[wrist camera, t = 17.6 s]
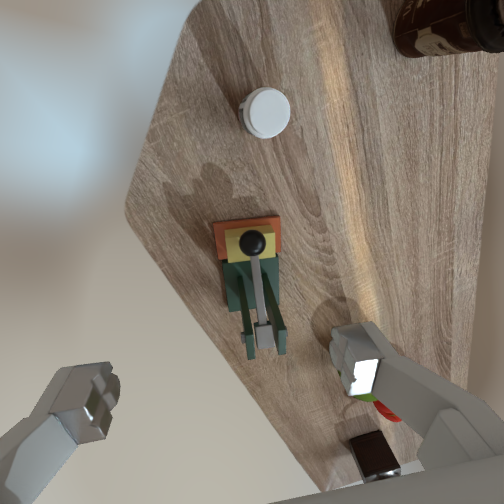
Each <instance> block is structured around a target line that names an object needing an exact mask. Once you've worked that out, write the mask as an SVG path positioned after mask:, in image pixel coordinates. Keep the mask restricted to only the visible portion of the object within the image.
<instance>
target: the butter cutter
mask: <svg viewBox="0 0 504 504" xmlns="http://www.w3.org/2000/svg"><path fill="white" fill-rule="evenodd" d="M275 254H276V257H272V258H264V259H259V262H260V270H261V278H262V286H263V294H264V302H265V307H266V311H267V315H268V318H269V321H270V322H271V324H272V326H273V334H274V340H275V344H276V347H277V351H278V355H283V354H286V337H287V336H288V332H287V328H286V326H285V325H284V322H283V319H282V316H281V313H280V310H279V307H278V305H279V258H278V255H277V253H275ZM222 266H223V273H224V280H225V287H226V294H227V301H228V308H229V312H234V311H241V316H242V323H243V329H244V332H241V341H242V343H246V350H247V357H248V360H251V359H255V346H254V335H253V329H252V324H251V319H250V313H249V309H255V308H256V302H255V294H254V287H253V279H252V271H251V263H250V260H248V261H240V262H232V263H228V259H226V260H222Z"/></svg>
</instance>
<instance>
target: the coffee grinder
mask: <svg viewBox="0 0 504 504" xmlns="http://www.w3.org/2000/svg"><path fill="white" fill-rule="evenodd" d="M349 444H350V449H351V452H352V456H353V458H354V460H355V462H356V465H357V467H358V470H359V472H360V475H361V477H362V480H363V482H364V483H369V482H374V481H378V480H383V479H388V478H393V477H398V476H401V467H400V465H399V464H398V462H397V460H396V458H395V456H394V454H393V452H392V450H391V448H390V446H389V445H388V443H387V441H386V439H385V437H384V435H383V433H382V431H377V432H372V433H369V434H365V435H362V436H358V437H356V438H353V439H350V440H349Z"/></svg>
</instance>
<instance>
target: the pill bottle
mask: <svg viewBox="0 0 504 504" xmlns="http://www.w3.org/2000/svg"><path fill="white" fill-rule="evenodd" d="M238 115H239V121H240V123H241V125H242V127H243V128H244V129H245V130H246V131H247V132H248V133H250V134H252V135H254V136H256V137H259V138H264V139H266V138H271V137H274V136H276V135H277V134H278V133H280V132H281V131H282V130H283V129H284V128H285V127H286V125H287V123H288V121H289V118H290V106H289V103H288V100H287V98H286V97H285V96H284V95H283V94H282V93H281V92H280V91H278V90H275V89H273V88H270V87H262V88H259V89H256V90H255V91H253V92H251V93H250V94H248V95H247V96H246V97H245V98H244V99H243V100H242V102H241V104H240V107H239V112H238Z"/></svg>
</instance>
